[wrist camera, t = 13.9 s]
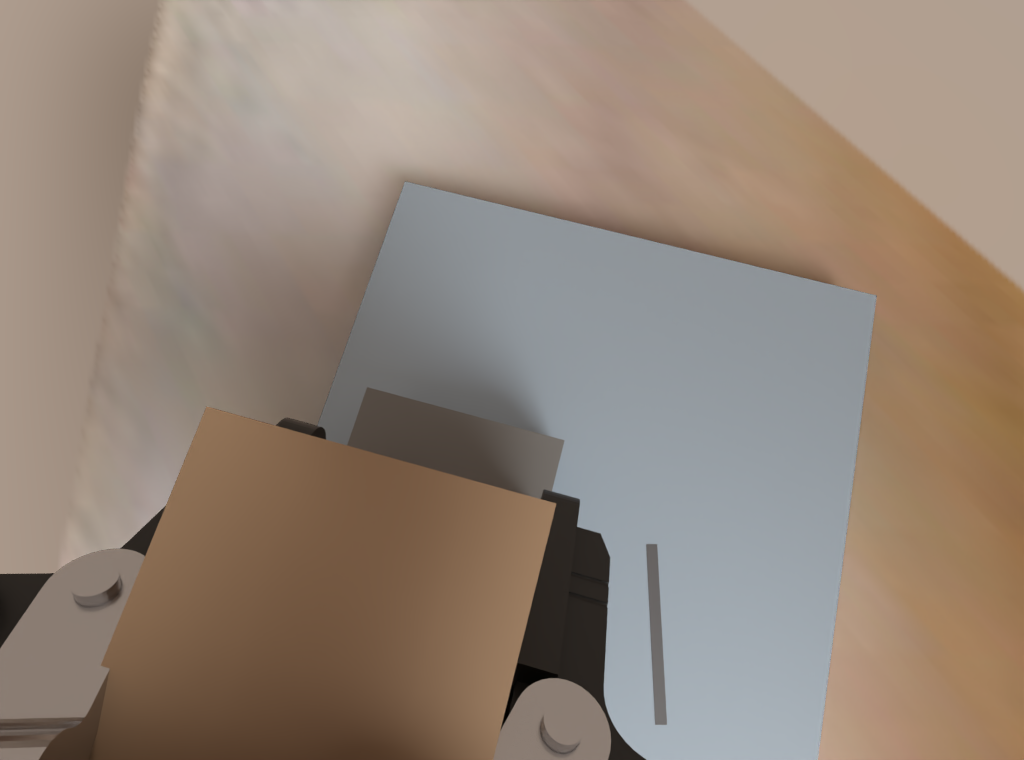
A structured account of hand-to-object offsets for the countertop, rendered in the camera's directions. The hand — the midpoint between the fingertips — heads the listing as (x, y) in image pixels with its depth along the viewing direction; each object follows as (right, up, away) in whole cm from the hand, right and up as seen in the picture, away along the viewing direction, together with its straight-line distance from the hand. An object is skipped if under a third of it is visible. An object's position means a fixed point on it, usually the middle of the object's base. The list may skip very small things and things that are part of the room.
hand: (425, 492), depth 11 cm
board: (+3, -4, +5) cm, 7 cm away
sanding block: (-1, -3, +4) cm, 5 cm away
